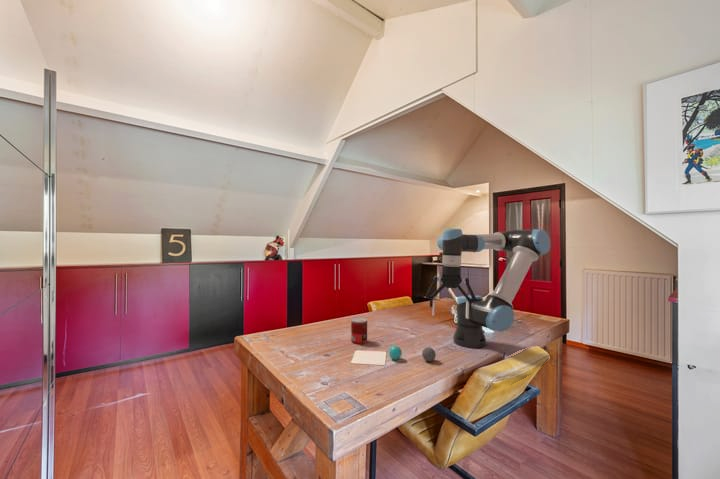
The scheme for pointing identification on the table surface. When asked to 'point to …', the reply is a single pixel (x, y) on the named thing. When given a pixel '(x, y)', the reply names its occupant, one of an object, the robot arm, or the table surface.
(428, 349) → the gray ball
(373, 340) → the table surface
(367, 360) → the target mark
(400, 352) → the object ball
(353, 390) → the table surface
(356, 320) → the canned food
